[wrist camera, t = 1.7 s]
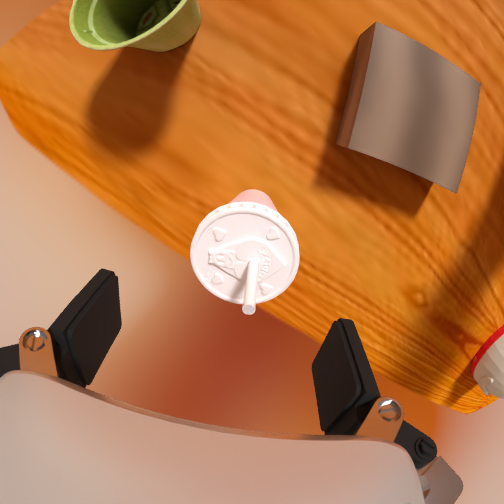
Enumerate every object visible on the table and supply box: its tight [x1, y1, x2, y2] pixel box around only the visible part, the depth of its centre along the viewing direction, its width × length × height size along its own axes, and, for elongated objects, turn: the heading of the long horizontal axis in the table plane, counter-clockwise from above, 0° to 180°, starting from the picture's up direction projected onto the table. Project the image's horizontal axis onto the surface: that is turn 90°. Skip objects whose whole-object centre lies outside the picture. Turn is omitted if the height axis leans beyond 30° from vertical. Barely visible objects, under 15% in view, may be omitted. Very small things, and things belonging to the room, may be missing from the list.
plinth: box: [335, 22, 481, 193], centre depth 17 cm, size 11×11×4 cm
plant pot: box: [69, 0, 201, 52], centre depth 13 cm, size 9×9×9 cm
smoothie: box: [190, 189, 299, 314], centre depth 18 cm, size 6×6×14 cm
